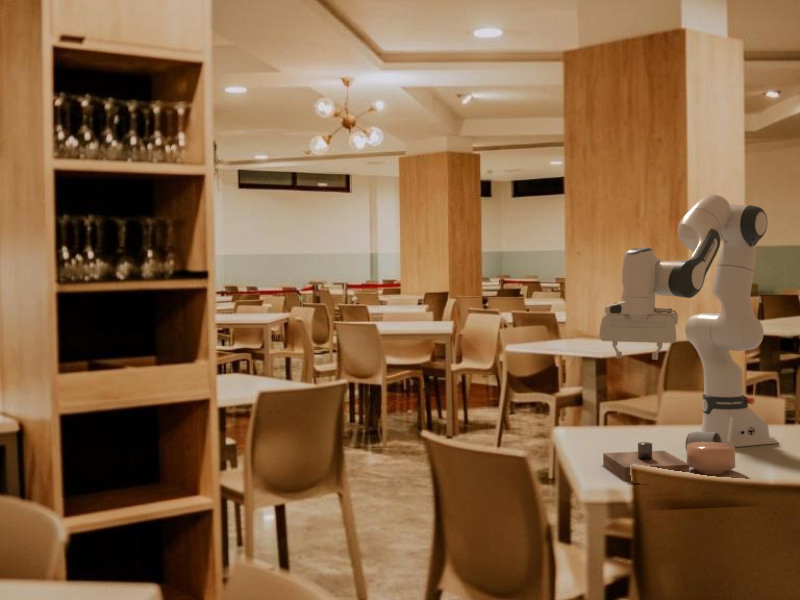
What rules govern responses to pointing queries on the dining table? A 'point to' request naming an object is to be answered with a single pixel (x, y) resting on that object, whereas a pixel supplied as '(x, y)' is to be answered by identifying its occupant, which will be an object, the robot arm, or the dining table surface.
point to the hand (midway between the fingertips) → (636, 358)
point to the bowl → (711, 457)
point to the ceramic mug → (702, 437)
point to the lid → (642, 461)
